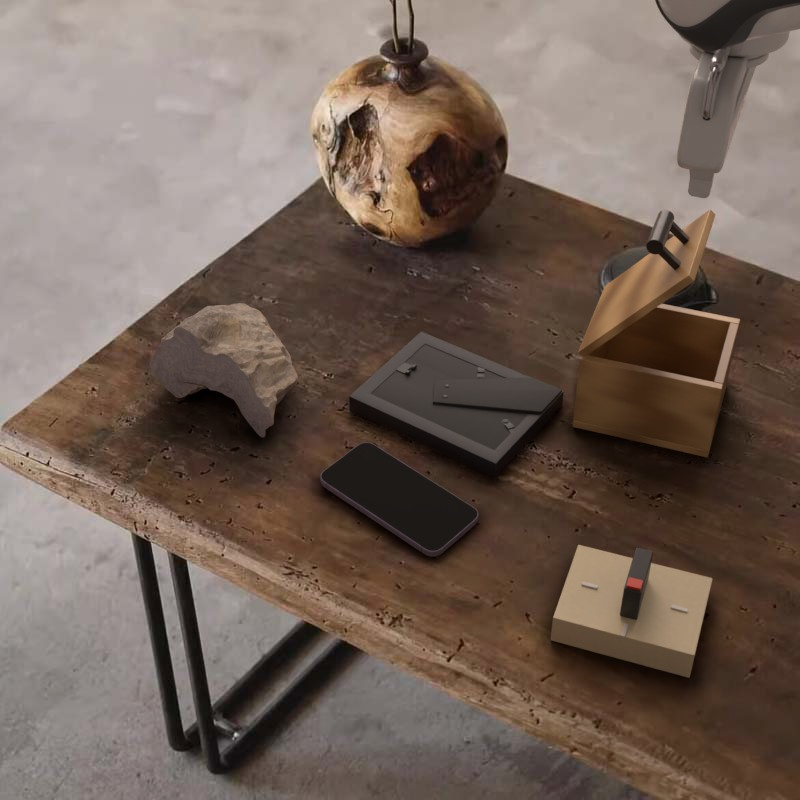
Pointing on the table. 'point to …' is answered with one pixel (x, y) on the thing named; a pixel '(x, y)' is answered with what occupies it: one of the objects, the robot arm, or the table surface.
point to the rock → (227, 361)
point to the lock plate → (623, 637)
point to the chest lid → (649, 278)
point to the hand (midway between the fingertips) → (708, 165)
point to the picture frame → (457, 403)
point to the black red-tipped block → (636, 583)
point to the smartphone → (399, 498)
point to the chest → (659, 380)
